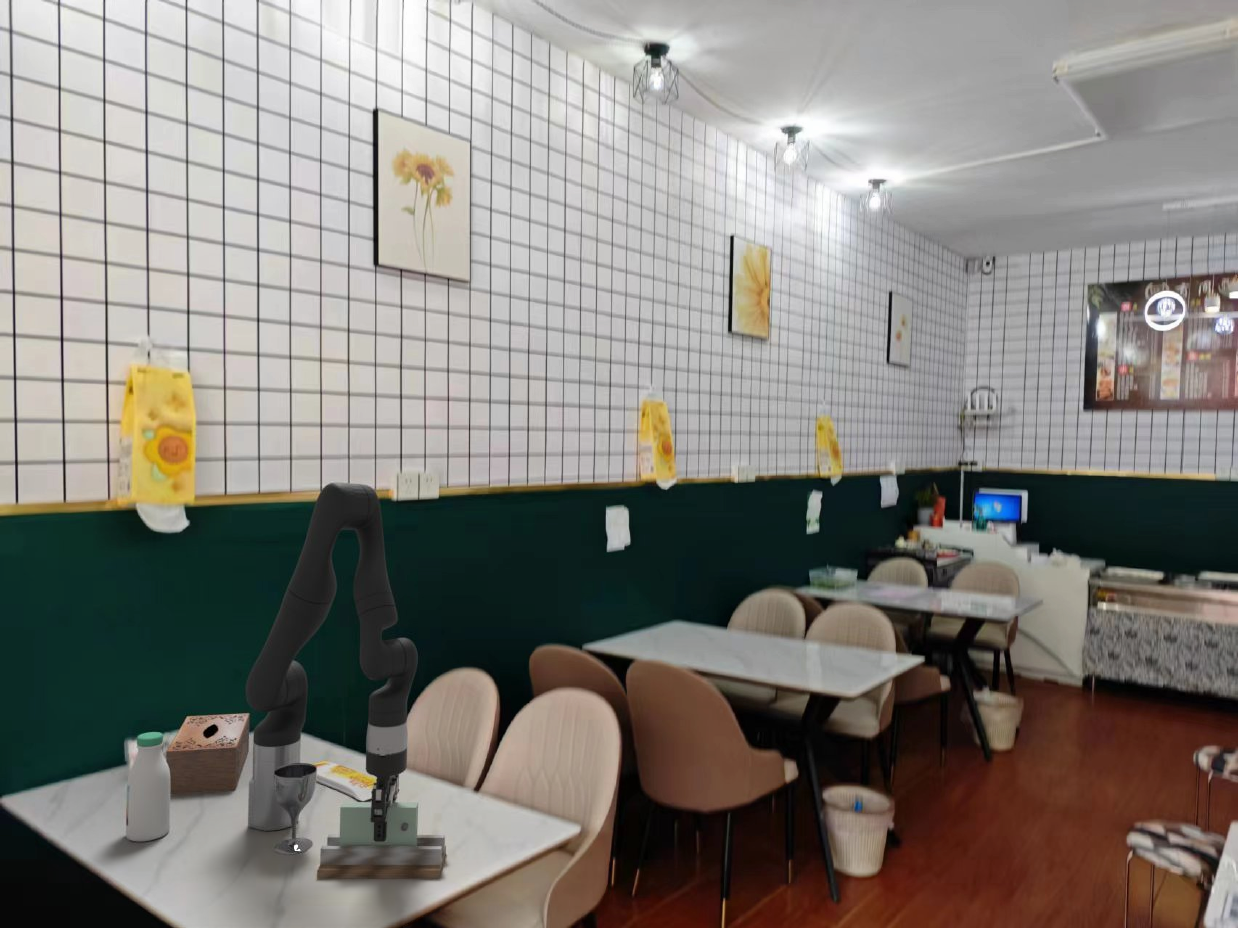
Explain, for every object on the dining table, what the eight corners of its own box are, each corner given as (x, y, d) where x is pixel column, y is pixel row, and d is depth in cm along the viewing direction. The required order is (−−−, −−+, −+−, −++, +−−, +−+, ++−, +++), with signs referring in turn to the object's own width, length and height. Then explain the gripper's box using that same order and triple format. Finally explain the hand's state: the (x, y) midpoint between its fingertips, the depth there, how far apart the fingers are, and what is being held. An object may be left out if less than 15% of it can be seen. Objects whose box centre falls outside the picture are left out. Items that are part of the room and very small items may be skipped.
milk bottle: (178, 829, 179) (180, 731, 179) (146, 845, 172) (149, 743, 172) (148, 823, 182) (151, 726, 182) (116, 838, 175) (118, 737, 174)
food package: (399, 783, 203) (363, 796, 195) (398, 793, 203) (363, 806, 195) (325, 755, 219) (289, 766, 211) (325, 764, 219) (289, 776, 211)
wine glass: (289, 859, 169) (291, 780, 168) (263, 847, 173) (265, 771, 172) (323, 843, 175) (325, 768, 175) (297, 833, 180) (299, 760, 179)
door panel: (337, 862, 165) (339, 808, 165) (342, 854, 168) (343, 801, 168) (414, 862, 166) (415, 809, 166) (416, 854, 169) (418, 802, 169)
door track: (316, 878, 162) (317, 853, 161) (331, 852, 172) (331, 829, 171) (438, 878, 163) (439, 854, 163) (445, 853, 173) (446, 830, 173)
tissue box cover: (235, 790, 201) (236, 747, 200) (165, 796, 196) (166, 751, 196) (248, 752, 225) (249, 713, 225) (186, 756, 221) (187, 716, 221)
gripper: (374, 732, 174) (372, 814, 174) (358, 758, 159) (355, 847, 160) (413, 733, 174) (411, 815, 175) (400, 759, 160) (397, 847, 160)
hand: (384, 830), depth 167 cm, fingers open, 8 cm apart
